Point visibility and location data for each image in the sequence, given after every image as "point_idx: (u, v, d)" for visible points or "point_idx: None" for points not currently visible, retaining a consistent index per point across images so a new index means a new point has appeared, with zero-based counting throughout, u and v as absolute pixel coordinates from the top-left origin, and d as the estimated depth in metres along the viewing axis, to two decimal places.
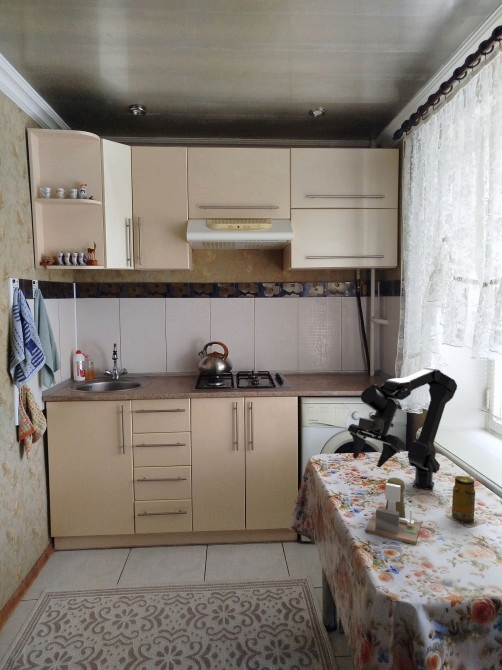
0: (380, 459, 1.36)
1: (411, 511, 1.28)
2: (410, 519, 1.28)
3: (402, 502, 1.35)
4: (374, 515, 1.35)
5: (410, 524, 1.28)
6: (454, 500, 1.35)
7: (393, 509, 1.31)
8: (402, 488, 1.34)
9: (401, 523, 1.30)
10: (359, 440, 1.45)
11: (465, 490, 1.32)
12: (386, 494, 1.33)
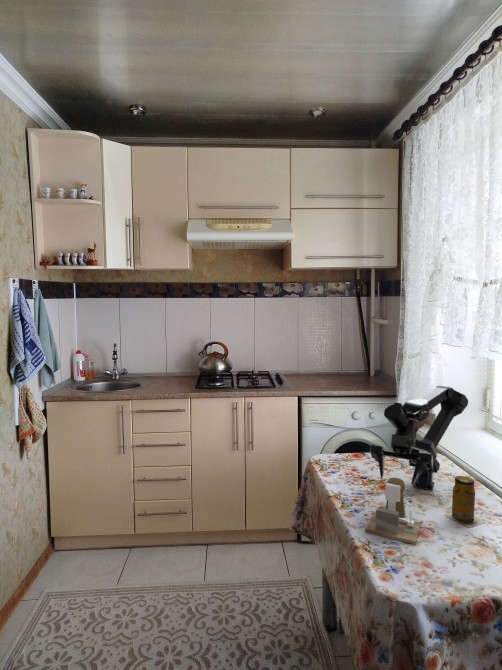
0: (414, 476, 1.37)
1: (411, 511, 1.28)
2: (410, 519, 1.28)
3: (402, 502, 1.35)
4: (374, 515, 1.35)
5: (410, 524, 1.28)
6: (454, 500, 1.35)
7: (393, 509, 1.31)
8: (402, 488, 1.34)
9: (401, 523, 1.30)
10: (383, 459, 1.44)
11: (465, 490, 1.32)
12: (386, 494, 1.33)
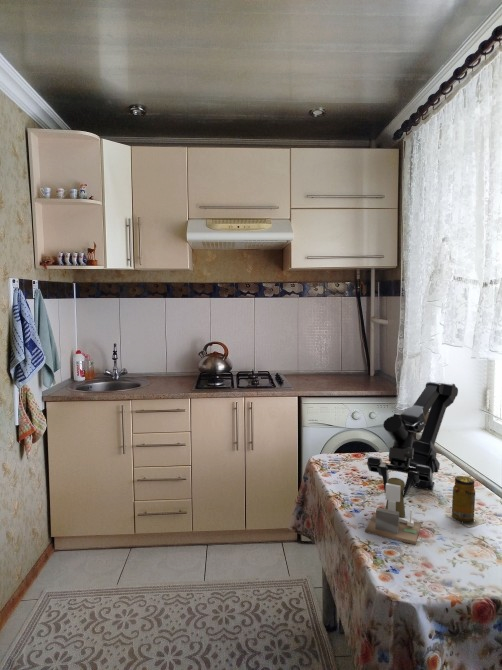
0: (406, 488, 1.35)
1: (411, 511, 1.28)
2: (410, 519, 1.28)
3: (402, 502, 1.35)
4: (374, 515, 1.35)
5: (410, 524, 1.28)
6: (454, 500, 1.35)
7: (393, 509, 1.31)
8: (402, 488, 1.34)
9: (401, 523, 1.30)
10: (387, 474, 1.40)
11: (465, 490, 1.32)
12: (386, 494, 1.33)
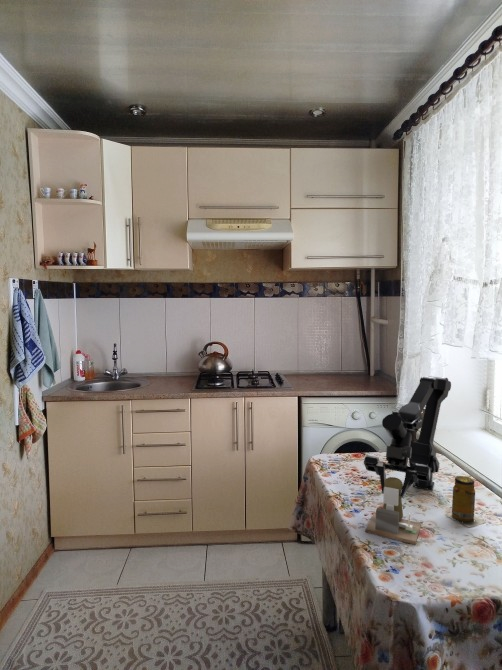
0: (404, 488, 1.31)
1: None
2: (409, 523, 1.26)
3: (400, 502, 1.31)
4: (374, 515, 1.35)
5: (409, 528, 1.26)
6: (454, 500, 1.35)
7: None
8: (400, 488, 1.31)
9: None
10: (384, 473, 1.36)
11: (465, 490, 1.32)
12: (384, 498, 1.30)
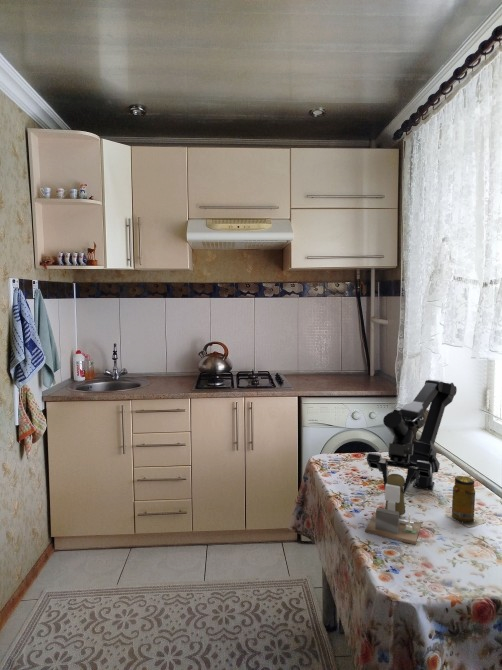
0: (406, 484, 1.34)
1: None
2: (409, 523, 1.26)
3: (402, 498, 1.34)
4: (374, 515, 1.35)
5: (409, 528, 1.26)
6: (454, 500, 1.35)
7: (393, 510, 1.31)
8: (402, 484, 1.34)
9: (401, 523, 1.30)
10: (387, 470, 1.39)
11: (465, 490, 1.32)
12: (386, 495, 1.32)
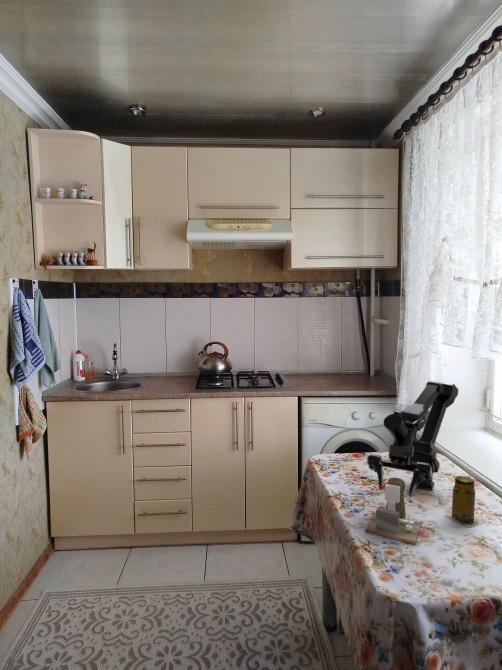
0: (411, 487, 1.34)
1: None
2: (409, 523, 1.26)
3: (402, 502, 1.35)
4: (374, 515, 1.35)
5: (409, 528, 1.26)
6: (454, 500, 1.35)
7: (393, 510, 1.31)
8: (402, 488, 1.35)
9: (401, 523, 1.30)
10: (382, 471, 1.41)
11: (465, 490, 1.32)
12: (386, 495, 1.32)
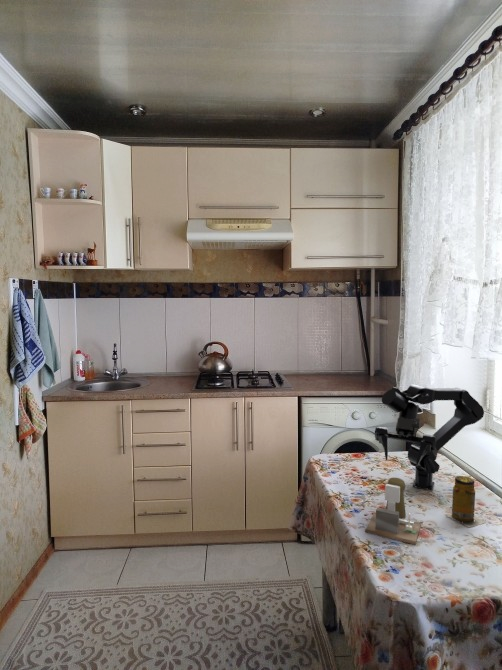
0: (419, 458, 1.41)
1: None
2: (409, 523, 1.26)
3: (402, 502, 1.35)
4: (374, 515, 1.35)
5: (409, 528, 1.26)
6: (454, 500, 1.35)
7: (393, 510, 1.31)
8: (402, 488, 1.34)
9: (401, 523, 1.30)
10: (387, 442, 1.48)
11: (465, 490, 1.32)
12: (386, 495, 1.32)
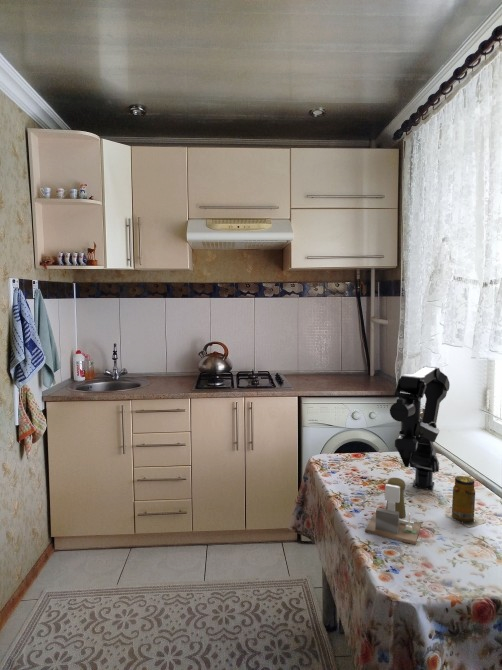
0: (414, 451, 1.49)
1: None
2: (409, 523, 1.26)
3: (402, 502, 1.35)
4: (374, 515, 1.35)
5: (409, 528, 1.26)
6: (454, 500, 1.35)
7: (393, 510, 1.31)
8: (402, 488, 1.34)
9: (401, 523, 1.30)
10: None
11: (465, 490, 1.32)
12: (386, 495, 1.32)
